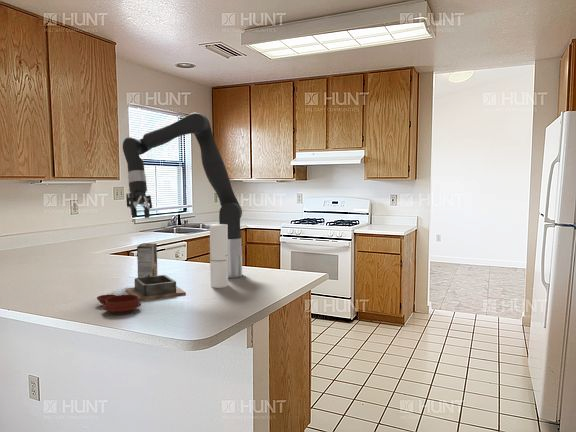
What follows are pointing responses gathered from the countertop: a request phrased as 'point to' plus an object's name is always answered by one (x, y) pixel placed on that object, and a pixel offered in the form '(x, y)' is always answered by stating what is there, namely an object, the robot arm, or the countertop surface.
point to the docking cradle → (155, 288)
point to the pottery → (119, 303)
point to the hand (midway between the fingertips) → (141, 217)
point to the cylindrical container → (219, 255)
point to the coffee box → (147, 260)
